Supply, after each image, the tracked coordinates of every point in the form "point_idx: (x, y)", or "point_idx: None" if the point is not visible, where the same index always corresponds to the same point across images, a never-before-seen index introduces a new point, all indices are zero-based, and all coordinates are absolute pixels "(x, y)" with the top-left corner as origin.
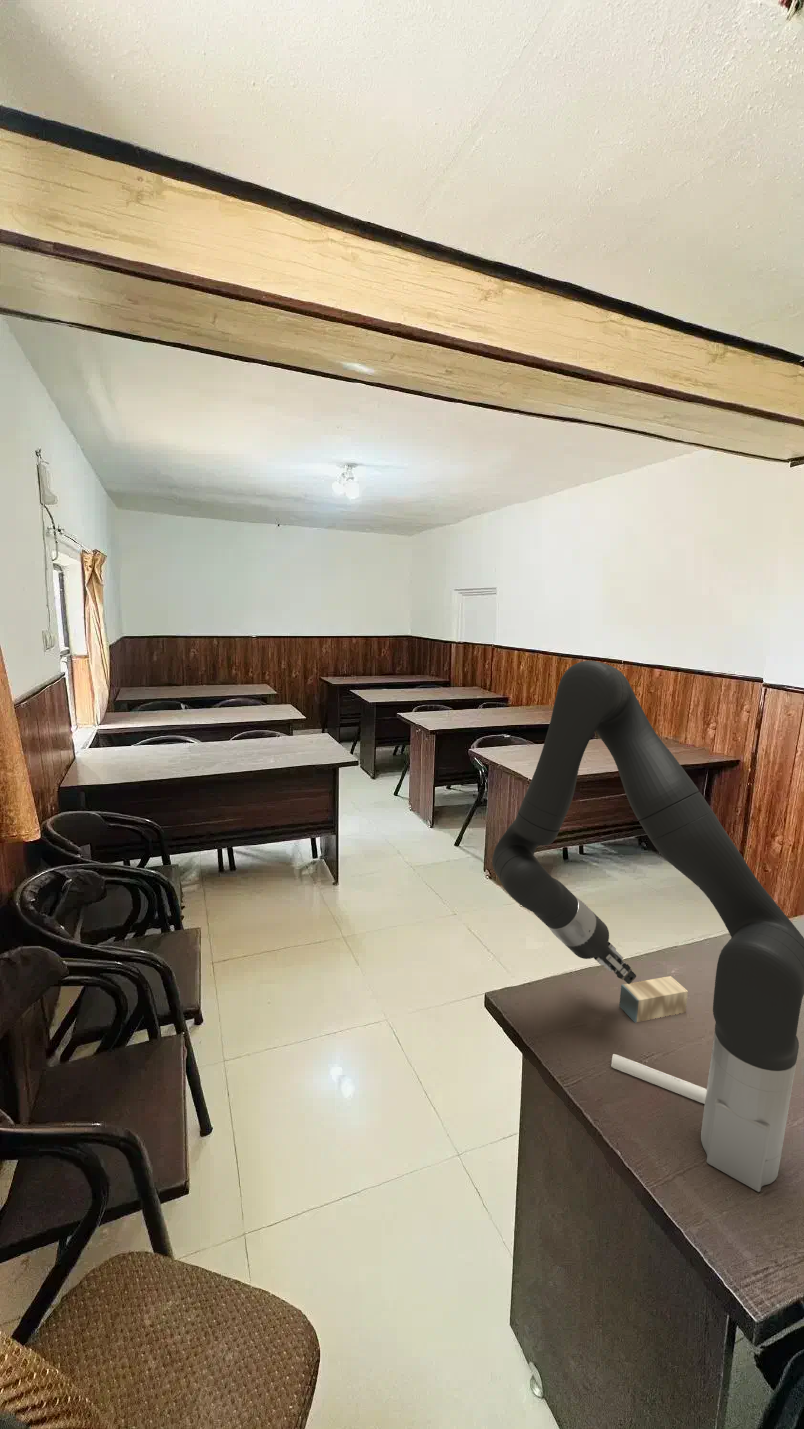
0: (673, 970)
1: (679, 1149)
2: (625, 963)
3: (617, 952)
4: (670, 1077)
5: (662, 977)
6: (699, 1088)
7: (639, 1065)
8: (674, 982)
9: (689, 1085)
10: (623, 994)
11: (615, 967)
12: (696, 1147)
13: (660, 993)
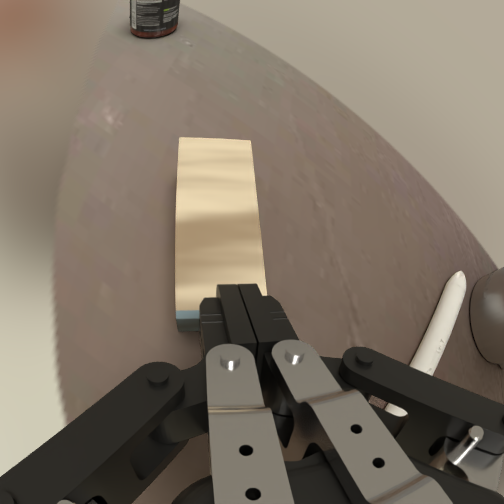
0: (108, 116)
1: (489, 396)
2: (305, 353)
3: (401, 452)
4: (437, 355)
5: (178, 160)
6: (453, 313)
7: None
8: (208, 146)
9: (450, 328)
10: (193, 323)
11: (280, 410)
12: (489, 371)
13: (246, 214)
